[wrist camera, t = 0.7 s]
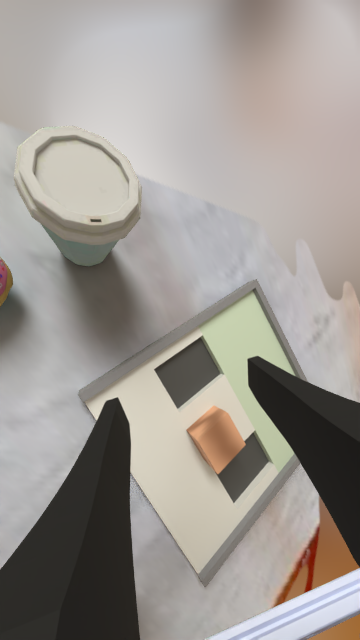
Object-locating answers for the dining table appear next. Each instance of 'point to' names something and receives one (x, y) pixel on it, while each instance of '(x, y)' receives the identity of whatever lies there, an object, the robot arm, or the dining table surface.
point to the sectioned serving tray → (187, 407)
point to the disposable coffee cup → (78, 191)
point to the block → (216, 438)
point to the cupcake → (4, 281)
